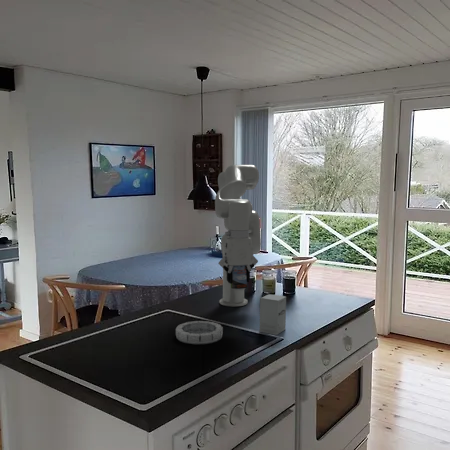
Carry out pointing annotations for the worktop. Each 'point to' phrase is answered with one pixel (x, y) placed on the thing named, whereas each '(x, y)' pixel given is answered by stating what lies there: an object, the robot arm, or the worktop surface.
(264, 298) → the supplement box
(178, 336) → the grey segmented ring
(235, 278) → the beverage can
